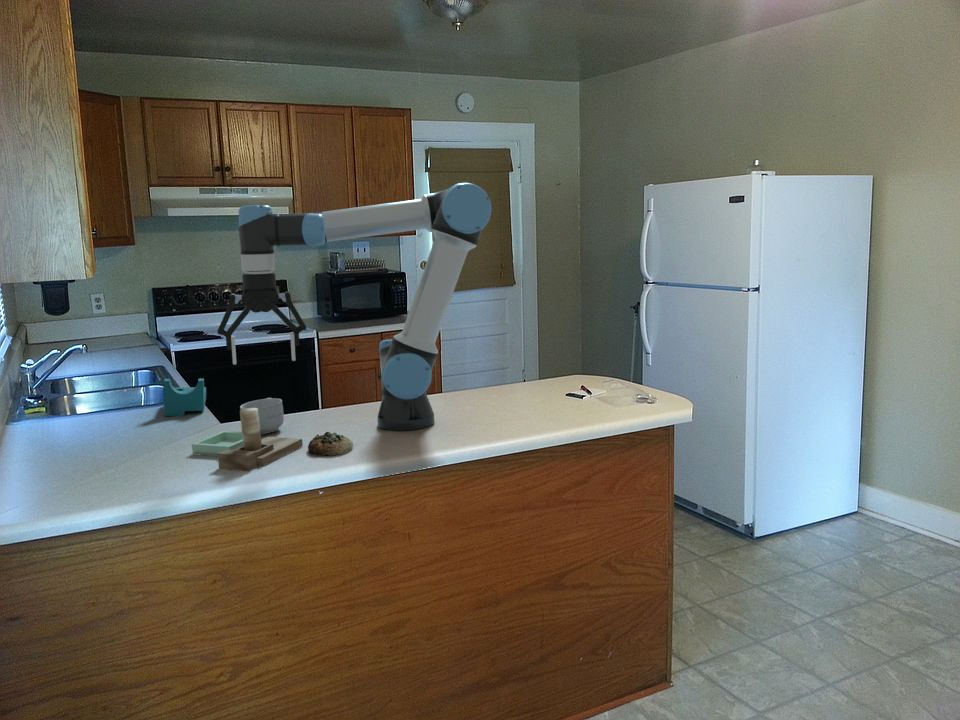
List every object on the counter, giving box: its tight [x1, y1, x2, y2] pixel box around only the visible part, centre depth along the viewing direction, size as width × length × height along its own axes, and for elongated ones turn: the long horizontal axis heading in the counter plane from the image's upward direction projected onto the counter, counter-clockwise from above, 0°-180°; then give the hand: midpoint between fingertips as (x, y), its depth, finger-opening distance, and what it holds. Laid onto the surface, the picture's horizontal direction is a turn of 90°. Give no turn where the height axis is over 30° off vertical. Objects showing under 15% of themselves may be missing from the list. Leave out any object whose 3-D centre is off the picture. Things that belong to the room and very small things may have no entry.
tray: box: [191, 430, 244, 457], centre depth 189 cm, size 11×12×2 cm
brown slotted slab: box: [234, 436, 304, 467], centre depth 183 cm, size 10×16×4 cm, turn 159°
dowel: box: [239, 408, 262, 451], centre depth 178 cm, size 4×4×10 cm
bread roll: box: [307, 431, 354, 457], centre depth 184 cm, size 11×11×5 cm
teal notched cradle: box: [163, 378, 207, 417], centre depth 234 cm, size 18×11×10 cm, turn 17°
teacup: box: [239, 397, 285, 435], centre depth 204 cm, size 14×11×8 cm
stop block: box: [217, 450, 257, 472], centre depth 173 cm, size 8×3×4 cm, turn 70°
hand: (264, 361), depth 184 cm, fingers open, 13 cm apart
